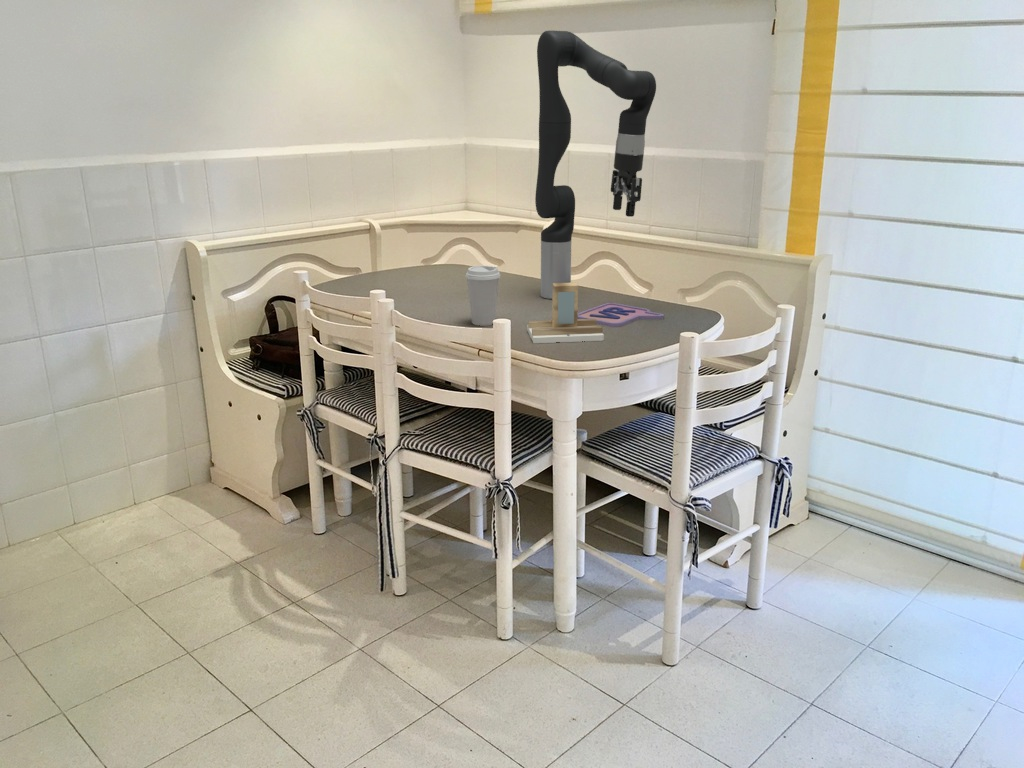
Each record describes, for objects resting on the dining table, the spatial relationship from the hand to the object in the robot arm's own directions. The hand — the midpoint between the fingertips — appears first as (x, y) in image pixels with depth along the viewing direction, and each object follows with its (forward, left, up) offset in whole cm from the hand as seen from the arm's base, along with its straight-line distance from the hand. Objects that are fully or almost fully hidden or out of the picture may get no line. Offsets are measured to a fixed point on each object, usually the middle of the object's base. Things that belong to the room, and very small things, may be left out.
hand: (623, 212), depth 224 cm
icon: (+3, -1, -29) cm, 29 cm away
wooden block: (+15, -22, -27) cm, 38 cm away
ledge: (+15, -22, -29) cm, 39 cm away
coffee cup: (-4, -39, -29) cm, 48 cm away
